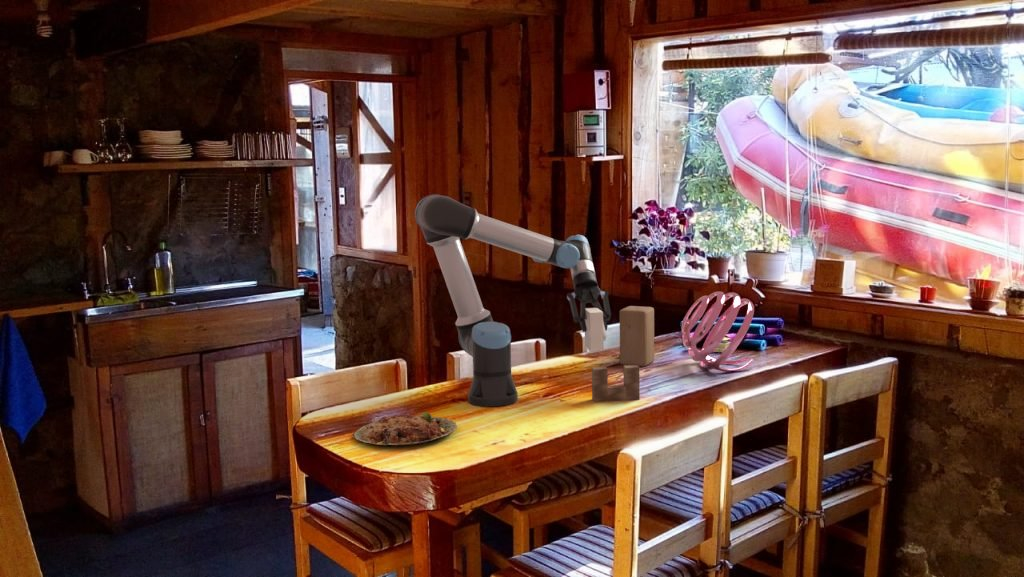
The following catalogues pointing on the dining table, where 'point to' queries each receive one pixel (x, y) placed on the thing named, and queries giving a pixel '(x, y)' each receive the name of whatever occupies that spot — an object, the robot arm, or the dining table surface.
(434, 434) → the rice dish
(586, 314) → the cream plate
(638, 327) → the wooden block
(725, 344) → the stacked layers on plate
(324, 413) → the dining table surface
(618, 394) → the slotted walnut plate
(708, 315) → the pink openwork looped piece
